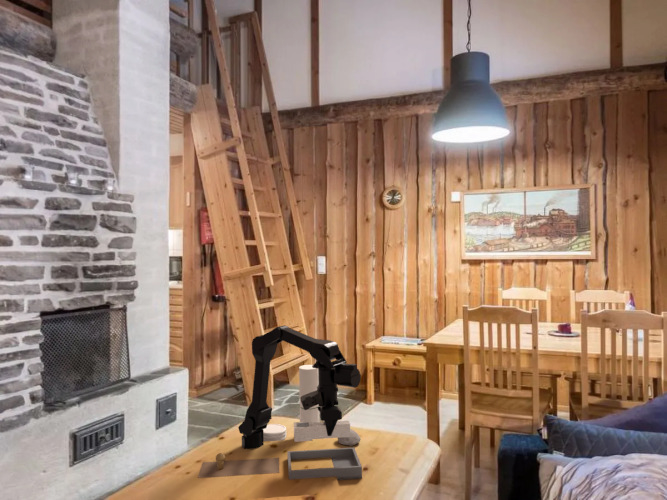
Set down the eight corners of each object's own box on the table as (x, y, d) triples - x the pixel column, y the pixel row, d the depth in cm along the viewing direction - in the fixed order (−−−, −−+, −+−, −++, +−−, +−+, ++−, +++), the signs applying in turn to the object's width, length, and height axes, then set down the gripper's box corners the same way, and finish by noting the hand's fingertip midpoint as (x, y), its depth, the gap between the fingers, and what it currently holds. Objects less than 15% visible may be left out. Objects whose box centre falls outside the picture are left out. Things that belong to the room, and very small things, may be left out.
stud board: (279, 461, 165) (278, 443, 165) (279, 476, 154) (279, 457, 154) (202, 466, 162) (202, 447, 162) (197, 481, 151) (197, 462, 151)
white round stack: (258, 434, 190) (258, 424, 190) (285, 431, 192) (285, 422, 192) (259, 444, 180) (259, 434, 180) (287, 442, 182) (287, 432, 182)
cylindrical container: (320, 432, 190) (319, 364, 190) (318, 439, 183) (317, 369, 183) (301, 431, 191) (300, 364, 191) (298, 439, 184) (297, 369, 184)
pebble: (334, 446, 177) (333, 431, 177) (339, 437, 185) (339, 423, 185) (358, 448, 175) (358, 433, 175) (362, 439, 183) (362, 425, 183)
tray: (354, 458, 167) (354, 447, 167) (362, 478, 152) (361, 466, 152) (287, 462, 164) (287, 451, 164) (288, 483, 150) (288, 471, 150)
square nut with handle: (348, 431, 162) (348, 419, 162) (350, 438, 156) (350, 425, 156) (293, 435, 160) (293, 422, 160) (294, 441, 154) (294, 428, 154)
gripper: (300, 376, 167) (301, 424, 167) (303, 393, 148) (304, 447, 148) (334, 375, 168) (335, 422, 168) (341, 391, 149) (342, 444, 149)
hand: (328, 433), depth 158 cm, fingers closed on square nut with handle, 3 cm apart
